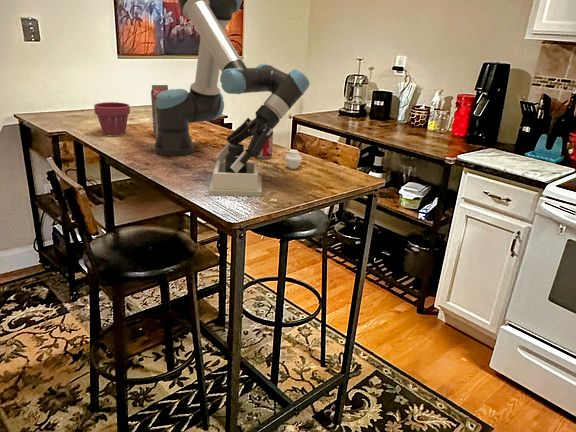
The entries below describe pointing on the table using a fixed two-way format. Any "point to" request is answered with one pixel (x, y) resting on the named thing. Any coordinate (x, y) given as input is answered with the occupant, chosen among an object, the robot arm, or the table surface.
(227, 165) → the supplement bottle
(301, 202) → the table surface
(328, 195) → the table surface
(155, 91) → the juice carton
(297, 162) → the white ribbed round lump
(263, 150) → the soda can
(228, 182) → the well
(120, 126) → the plant pot
